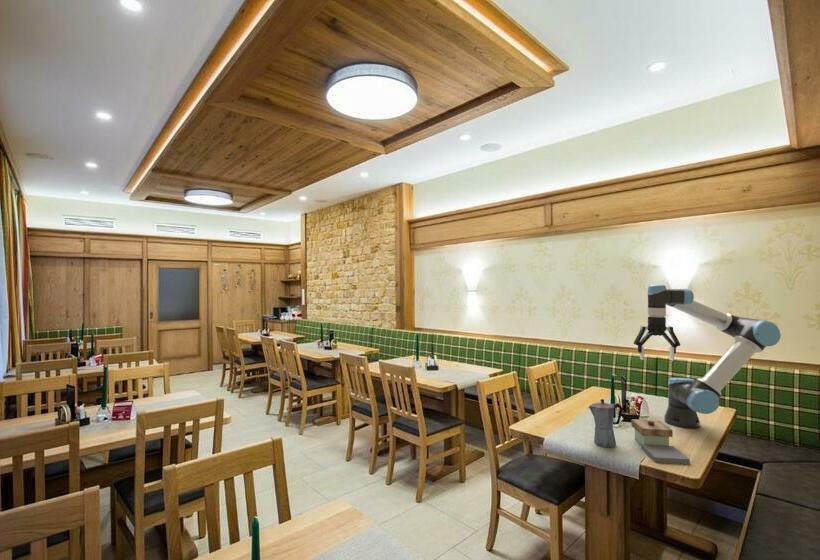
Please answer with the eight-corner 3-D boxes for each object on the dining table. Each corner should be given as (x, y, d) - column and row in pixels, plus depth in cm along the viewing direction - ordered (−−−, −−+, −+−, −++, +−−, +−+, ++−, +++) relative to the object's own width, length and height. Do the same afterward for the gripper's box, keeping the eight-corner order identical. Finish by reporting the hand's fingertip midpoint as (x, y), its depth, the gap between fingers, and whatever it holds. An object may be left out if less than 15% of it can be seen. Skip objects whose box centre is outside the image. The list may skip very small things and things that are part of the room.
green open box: (658, 440, 183) (658, 427, 183) (669, 450, 173) (669, 436, 173) (634, 439, 184) (634, 426, 184) (644, 448, 174) (644, 434, 174)
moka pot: (583, 440, 184) (583, 396, 184) (615, 439, 185) (615, 395, 185) (594, 448, 174) (594, 402, 174) (628, 447, 175) (628, 402, 176)
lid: (659, 427, 184) (659, 417, 184) (672, 437, 172) (672, 426, 172) (631, 425, 185) (631, 416, 185) (642, 435, 174) (642, 425, 174)
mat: (673, 450, 172) (673, 446, 172) (689, 464, 159) (689, 459, 159) (641, 448, 174) (641, 444, 174) (654, 462, 161) (654, 457, 161)
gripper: (680, 316, 197) (680, 359, 197) (626, 315, 201) (626, 357, 201) (688, 317, 190) (688, 362, 190) (632, 316, 193) (632, 360, 193)
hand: (656, 359), depth 195 cm, fingers open, 13 cm apart
